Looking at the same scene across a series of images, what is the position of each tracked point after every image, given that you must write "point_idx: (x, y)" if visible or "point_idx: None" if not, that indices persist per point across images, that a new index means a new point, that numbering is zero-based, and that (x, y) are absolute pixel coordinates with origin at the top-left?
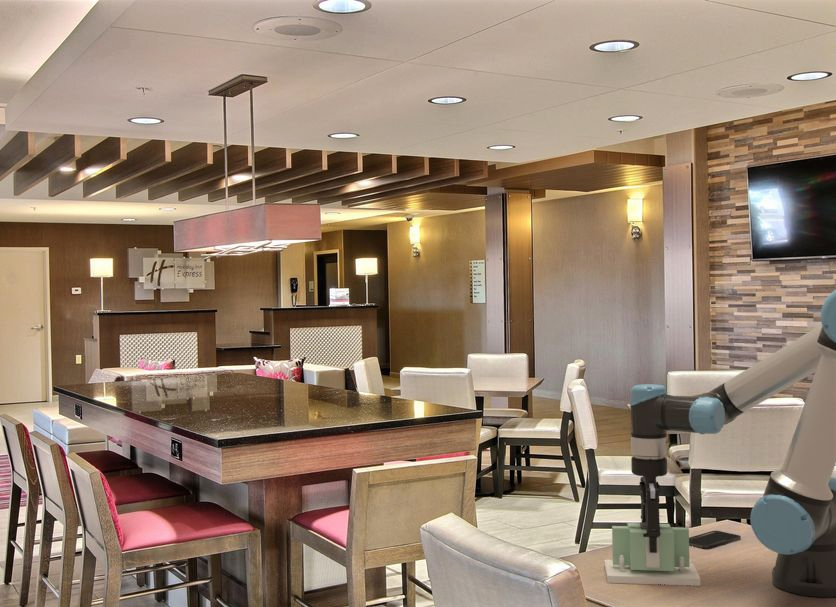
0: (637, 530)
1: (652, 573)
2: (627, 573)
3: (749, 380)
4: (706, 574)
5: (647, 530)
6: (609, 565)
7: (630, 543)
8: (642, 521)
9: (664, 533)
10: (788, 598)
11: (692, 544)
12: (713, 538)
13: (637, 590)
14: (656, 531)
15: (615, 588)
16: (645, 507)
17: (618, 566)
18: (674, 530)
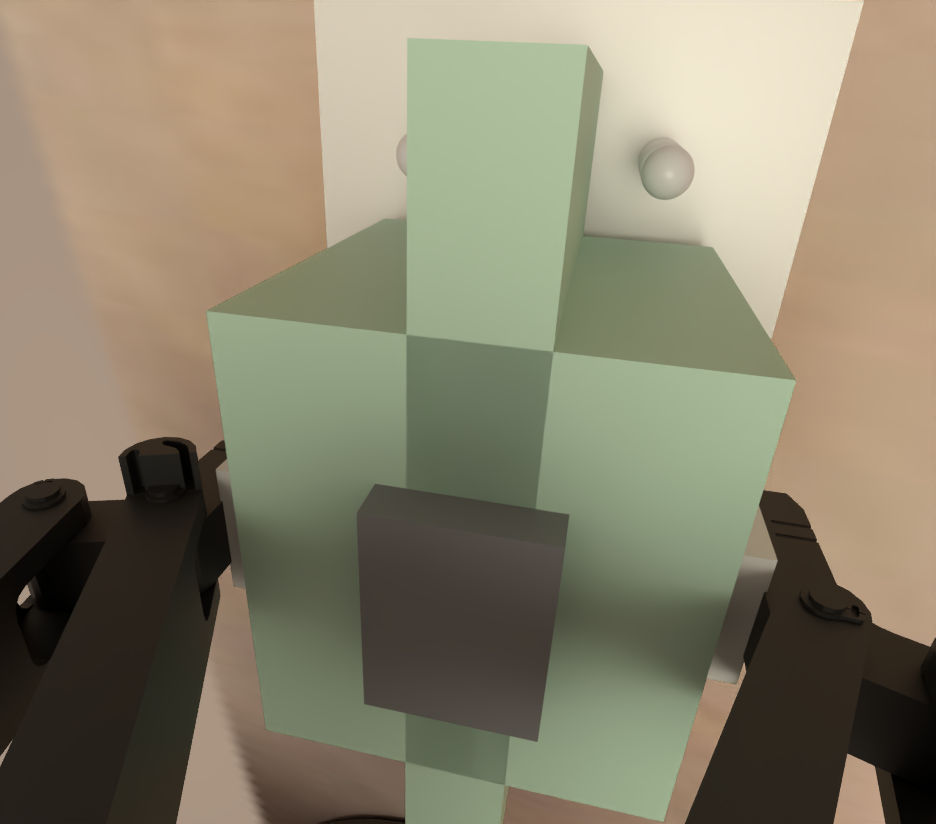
0: (312, 426)
1: None
2: (397, 185)
3: None
4: None
5: (58, 518)
6: (630, 39)
7: (281, 272)
8: (794, 608)
9: (258, 659)
10: (261, 793)
11: None
12: None
13: (217, 215)
14: (32, 593)
15: (222, 54)
16: (57, 819)
17: (596, 131)
18: (407, 770)
